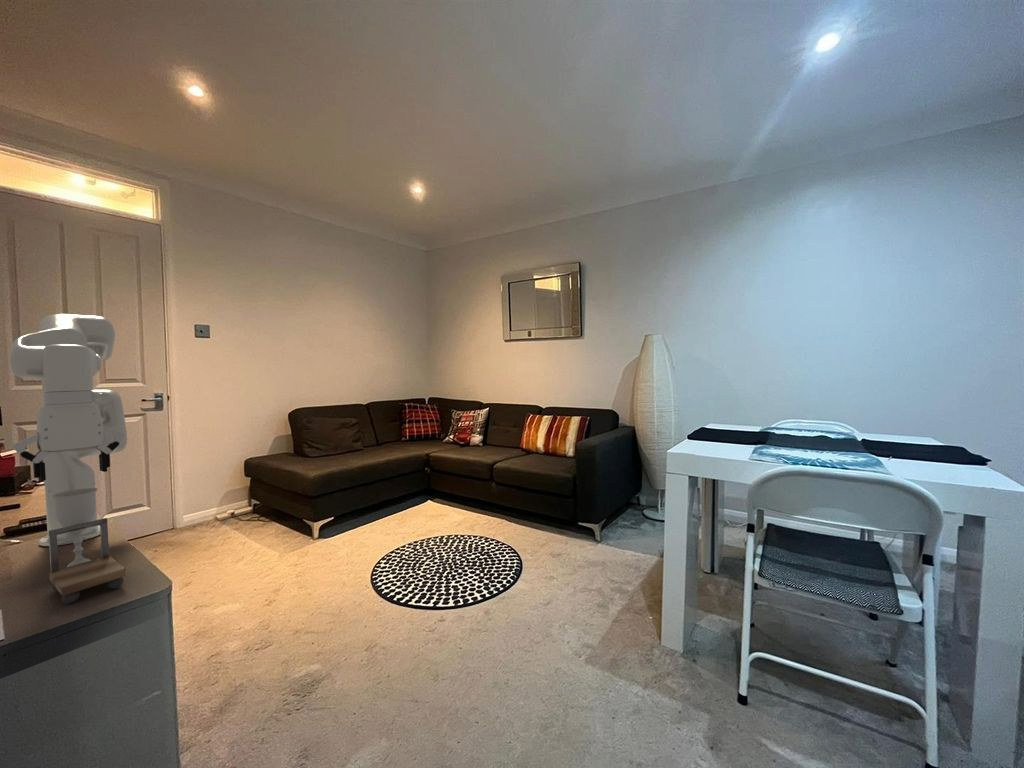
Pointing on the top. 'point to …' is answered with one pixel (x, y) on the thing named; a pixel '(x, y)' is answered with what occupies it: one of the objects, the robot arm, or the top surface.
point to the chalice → (75, 515)
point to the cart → (83, 566)
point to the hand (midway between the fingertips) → (74, 475)
